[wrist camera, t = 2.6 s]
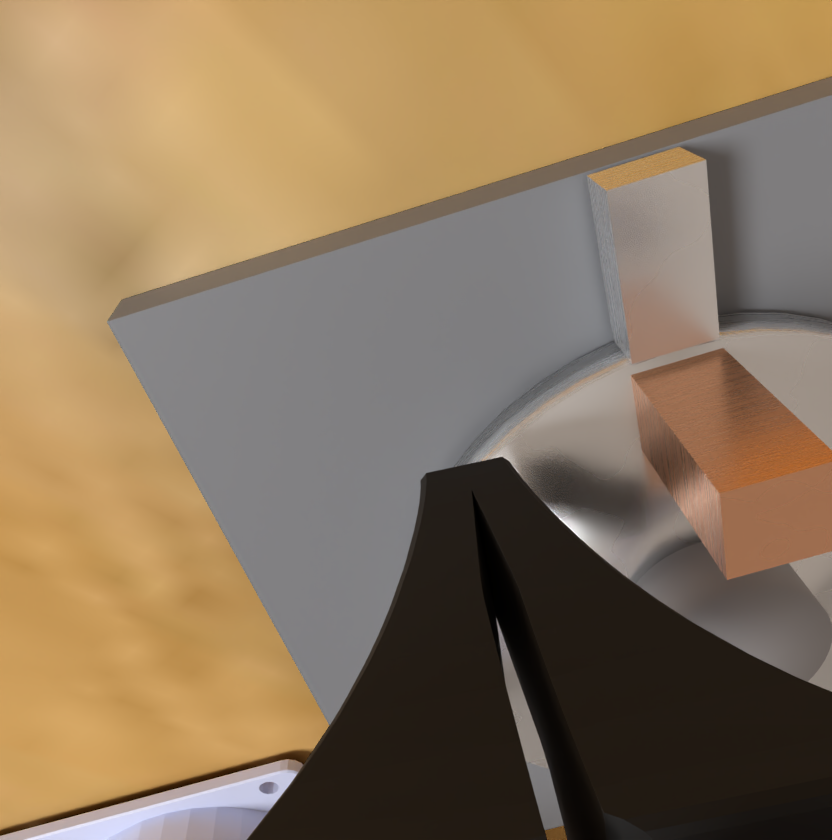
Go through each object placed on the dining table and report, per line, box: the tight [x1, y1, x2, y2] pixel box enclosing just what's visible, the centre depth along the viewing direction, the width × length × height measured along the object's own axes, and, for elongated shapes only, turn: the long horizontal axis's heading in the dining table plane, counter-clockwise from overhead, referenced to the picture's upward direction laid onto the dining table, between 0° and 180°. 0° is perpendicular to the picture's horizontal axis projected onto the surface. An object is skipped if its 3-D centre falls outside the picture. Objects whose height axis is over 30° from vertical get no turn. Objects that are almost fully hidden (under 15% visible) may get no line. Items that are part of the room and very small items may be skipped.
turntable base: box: [107, 77, 832, 830], centre depth 16 cm, size 18×18×4 cm
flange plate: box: [454, 147, 832, 769], centre depth 14 cm, size 12×15×4 cm
